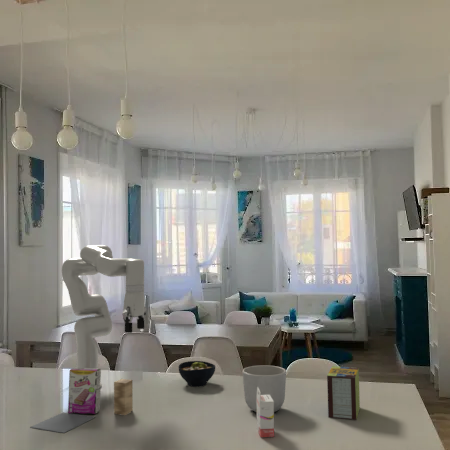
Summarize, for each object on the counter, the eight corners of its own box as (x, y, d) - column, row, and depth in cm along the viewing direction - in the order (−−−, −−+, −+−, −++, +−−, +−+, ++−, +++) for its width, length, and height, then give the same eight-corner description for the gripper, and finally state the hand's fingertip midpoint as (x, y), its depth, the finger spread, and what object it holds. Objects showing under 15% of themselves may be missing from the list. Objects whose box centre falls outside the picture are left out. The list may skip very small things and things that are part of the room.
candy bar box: (67, 413, 194) (68, 369, 196) (72, 410, 199) (73, 367, 201) (95, 414, 193) (96, 370, 195) (100, 411, 198) (101, 367, 199)
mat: (30, 427, 180) (30, 426, 180) (63, 413, 196) (63, 412, 196) (63, 433, 174) (63, 432, 174) (95, 417, 190) (95, 416, 190)
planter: (262, 400, 208) (262, 363, 209) (295, 409, 196) (295, 369, 197) (233, 410, 196) (233, 370, 197) (267, 420, 184) (266, 378, 185)
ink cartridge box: (275, 437, 168) (274, 392, 169) (260, 438, 168) (259, 392, 168) (270, 428, 176) (269, 385, 177) (256, 428, 176) (255, 385, 177)
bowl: (187, 391, 223) (187, 368, 223) (173, 382, 238) (172, 361, 239) (222, 386, 231) (221, 364, 231) (205, 377, 246) (205, 357, 246)
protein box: (360, 407, 198) (359, 367, 199) (356, 420, 183) (355, 377, 184) (332, 405, 201) (331, 365, 202) (327, 417, 187) (326, 375, 187)
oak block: (114, 413, 194) (114, 382, 195) (121, 409, 199) (121, 378, 199) (125, 415, 192) (125, 383, 193) (132, 411, 197) (132, 380, 198)
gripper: (137, 287, 220) (137, 326, 219) (115, 290, 204) (115, 333, 203) (153, 287, 217) (152, 327, 216) (131, 291, 201) (131, 334, 200)
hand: (134, 330), depth 210 cm, fingers open, 9 cm apart
